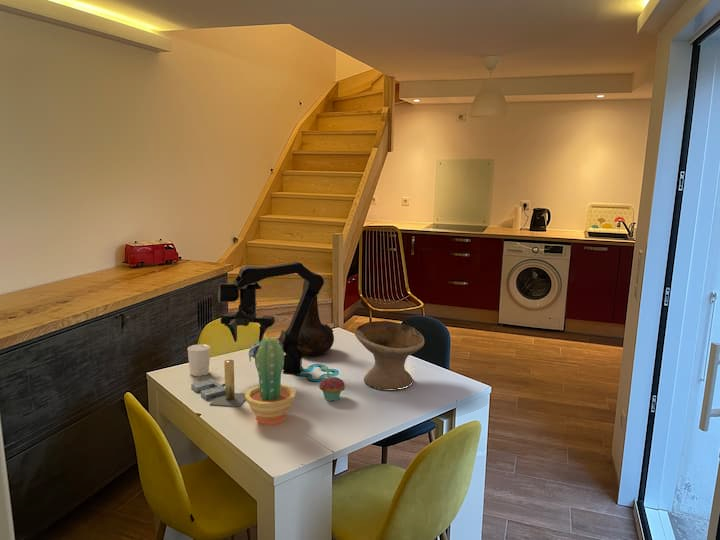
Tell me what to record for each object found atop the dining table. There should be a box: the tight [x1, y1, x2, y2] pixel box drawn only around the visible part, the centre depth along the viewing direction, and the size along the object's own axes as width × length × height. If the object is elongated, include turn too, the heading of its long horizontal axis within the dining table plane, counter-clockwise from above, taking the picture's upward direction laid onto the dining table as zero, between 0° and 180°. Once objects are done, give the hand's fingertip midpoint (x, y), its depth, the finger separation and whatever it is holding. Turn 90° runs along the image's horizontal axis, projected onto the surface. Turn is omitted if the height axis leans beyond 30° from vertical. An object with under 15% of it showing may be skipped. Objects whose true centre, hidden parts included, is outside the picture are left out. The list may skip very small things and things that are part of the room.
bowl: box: [354, 320, 425, 390], centre depth 191 cm, size 26×25×20 cm
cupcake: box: [318, 364, 346, 401], centre depth 176 cm, size 9×8×12 cm
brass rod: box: [223, 359, 236, 401], centre depth 173 cm, size 3×3×13 cm
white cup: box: [187, 344, 211, 377], centre depth 197 cm, size 8×8×10 cm
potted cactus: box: [244, 337, 296, 426], centre depth 159 cm, size 15×15×25 cm
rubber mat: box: [209, 392, 246, 408], centre depth 174 cm, size 10×10×1 cm
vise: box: [190, 378, 225, 401], centre depth 181 cm, size 10×12×2 cm
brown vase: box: [298, 292, 335, 357], centre depth 222 cm, size 18×18×28 cm
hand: (247, 342), depth 193 cm, fingers open, 9 cm apart
